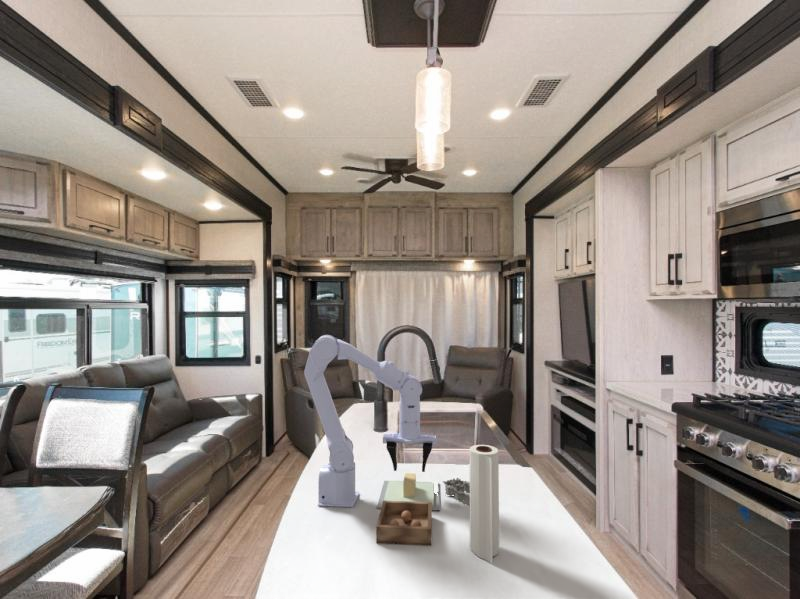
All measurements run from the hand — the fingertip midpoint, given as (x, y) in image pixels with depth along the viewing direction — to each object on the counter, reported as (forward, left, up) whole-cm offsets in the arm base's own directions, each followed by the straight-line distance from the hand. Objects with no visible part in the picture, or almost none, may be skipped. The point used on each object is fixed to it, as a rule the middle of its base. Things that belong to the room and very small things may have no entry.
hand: (409, 469), depth 111 cm
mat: (0, 0, -7) cm, 7 cm away
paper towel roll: (+17, -24, -7) cm, 30 cm away
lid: (0, -1, -7) cm, 7 cm away
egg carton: (+15, +1, -7) cm, 17 cm away
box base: (0, -17, -7) cm, 18 cm away
